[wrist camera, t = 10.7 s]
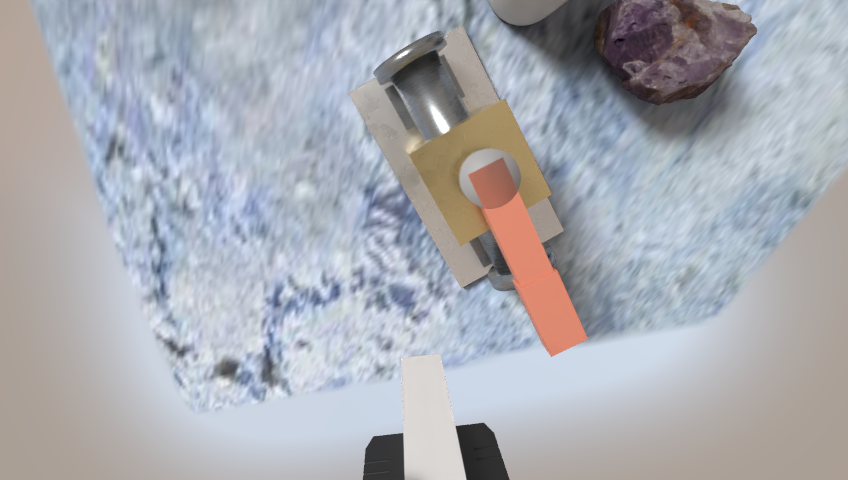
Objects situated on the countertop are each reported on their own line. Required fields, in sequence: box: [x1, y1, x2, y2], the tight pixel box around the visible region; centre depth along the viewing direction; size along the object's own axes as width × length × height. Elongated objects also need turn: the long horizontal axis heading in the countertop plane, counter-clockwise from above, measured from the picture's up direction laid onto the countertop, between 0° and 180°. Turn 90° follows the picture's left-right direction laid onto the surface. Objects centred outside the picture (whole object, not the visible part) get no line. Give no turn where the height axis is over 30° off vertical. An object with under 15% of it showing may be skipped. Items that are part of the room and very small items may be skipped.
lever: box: [458, 148, 588, 357], centre depth 31 cm, size 16×4×2 cm, turn 27°
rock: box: [594, 0, 757, 105], centre depth 38 cm, size 12×9×10 cm
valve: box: [348, 25, 564, 291], centre depth 37 cm, size 12×22×12 cm, turn 30°
